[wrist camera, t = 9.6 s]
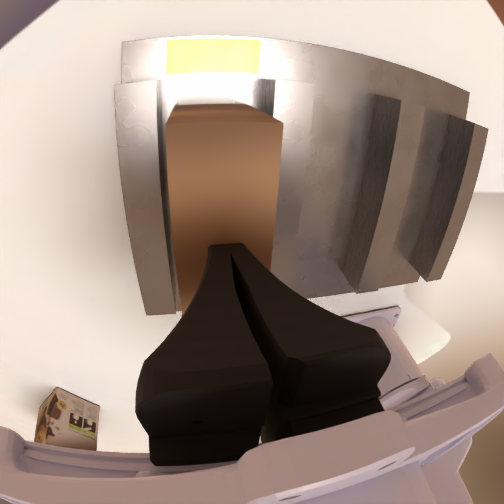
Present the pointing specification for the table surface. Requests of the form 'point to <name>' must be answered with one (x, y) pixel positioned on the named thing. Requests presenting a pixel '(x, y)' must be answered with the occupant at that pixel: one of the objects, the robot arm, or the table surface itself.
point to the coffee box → (67, 422)
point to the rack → (307, 159)
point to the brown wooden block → (220, 184)
